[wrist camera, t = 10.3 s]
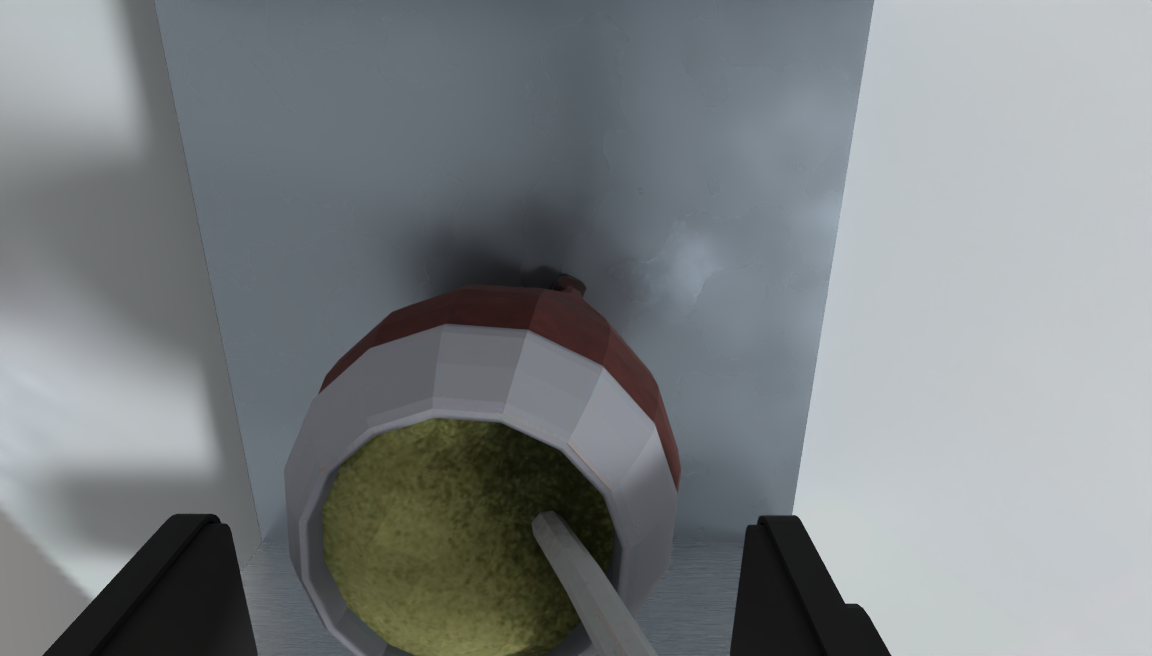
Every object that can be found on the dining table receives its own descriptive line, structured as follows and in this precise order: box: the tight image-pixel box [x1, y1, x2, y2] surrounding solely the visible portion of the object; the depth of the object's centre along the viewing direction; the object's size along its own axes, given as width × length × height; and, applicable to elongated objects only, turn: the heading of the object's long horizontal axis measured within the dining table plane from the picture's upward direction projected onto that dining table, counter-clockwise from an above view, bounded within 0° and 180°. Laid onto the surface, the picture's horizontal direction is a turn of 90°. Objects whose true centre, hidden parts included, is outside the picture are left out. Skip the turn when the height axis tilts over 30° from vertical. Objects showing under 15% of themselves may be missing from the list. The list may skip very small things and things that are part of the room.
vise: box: [154, 0, 874, 656], centre depth 14 cm, size 30×16×6 cm, turn 179°
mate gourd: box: [284, 274, 681, 656], centre depth 10 cm, size 8×8×15 cm
